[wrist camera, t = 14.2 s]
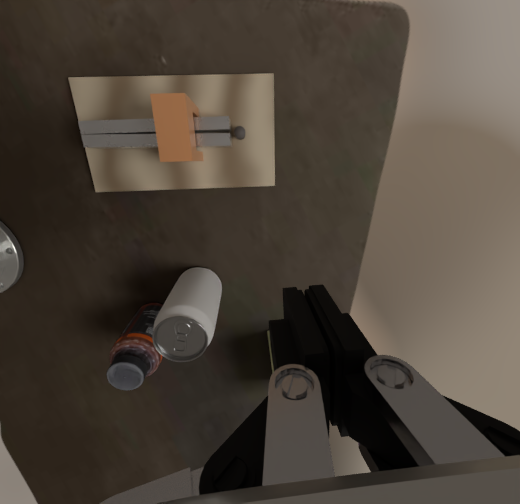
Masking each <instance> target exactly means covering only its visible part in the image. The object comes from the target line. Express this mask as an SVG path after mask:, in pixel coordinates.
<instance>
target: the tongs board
mask: <svg viewBox="0 0 520 504" xmlns="http://www.w3.org/2000/svg"><path fill="white" fill-rule="evenodd" d="M68 79H69V83H70V87H71V91H72V96H73V100H74V104H75V108H76V112H77V116H78V121H92V120H123V119H154V117H153V110H152V104H151V97H150V94H159V93H185V94H186V95H187V96H188V97H189V98H190V99H191V100H192V101H193V102H194V104H195V105H196V106H197V107H198V108H199V117H216V116H229V118H230V121H231V133H230V134H231V136H232V147H207V148H196V149H197V151H201V152H203V159H204V161H185V162H160V156H159V150H158V148H124V149H98V148H86V147H85V150H86V154H87V158H88V162H89V166H90V170H91V175H92V179H93V183H94V187H95V191H96V192H115V191H142V190H170V189H198V188H226V187H254V186H275V157H274V73H273V74H221V75H170V76H118V77H68ZM82 135H83V134H82Z"/></svg>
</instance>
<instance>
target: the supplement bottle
mask: <svg viewBox="0 0 520 504" xmlns="http://www.w3.org/2000/svg"><path fill="white" fill-rule="evenodd" d="M162 306H163V304H160V303H149V304H146V305H144V306H142V307H141V308H140V309H139V310H138V311H137V312H136V314H135V315H134V317H133V318H132V319H131V321H130V322H129V324H128V325H127V327H126V328H125V329H124V331H123V332H122V334H121V335H120V337H119V338H118V340H117V341H116V343H115V344H114V346H113V347H112V349H111V352H110V356H109V357H110V363H111V366H110V367H109V369H108V371H107V379H108V381H109V382H110V384H111V385H112V386H114V387H116V388H118V389H121V390H133V389H136V388H137V387H139V386H140V385H141V384H142V383H143V381H144V378H145V377H147V376H149V375H151V374H152V373H153V372H155V370H156V369H157V368H158V366H159V364H160V362H161V359H162V357H163V356H162V355H161V354H160V353H159V352H158V351H157V350H156V349H155V347H154V345H153V341H152V335H153V327H154V322H155V319H156V317H157V315H158V313H159V312H160V310H161V308H162Z"/></svg>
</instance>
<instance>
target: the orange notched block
mask: <svg viewBox="0 0 520 504" xmlns="http://www.w3.org/2000/svg"><path fill="white" fill-rule="evenodd" d="M150 97H151V104H152V110H153V117H154V124H155V130H156V137H157V143H158V150H159V156H160V162H185V161H204V159H203V152H201V151H197V149H196V140H195V130H194V121H193V117H199V108H198V107H197V106H196V105H195V104H194V102H193V101H192V100H191V99H190V98H189V97H188V96H187V95H186V94H185V93H159V94H150Z"/></svg>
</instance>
